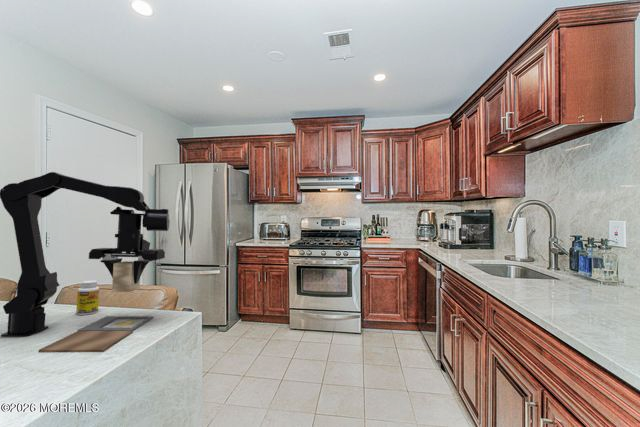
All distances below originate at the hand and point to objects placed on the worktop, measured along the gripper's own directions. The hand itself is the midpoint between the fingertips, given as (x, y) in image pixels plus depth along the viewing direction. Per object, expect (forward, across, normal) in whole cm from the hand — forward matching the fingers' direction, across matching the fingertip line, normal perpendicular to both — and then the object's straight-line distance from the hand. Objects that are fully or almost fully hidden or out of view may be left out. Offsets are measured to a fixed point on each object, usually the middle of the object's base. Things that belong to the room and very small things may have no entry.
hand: (126, 283), depth 86 cm
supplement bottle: (+12, +18, -11) cm, 24 cm away
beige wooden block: (+2, 0, 0) cm, 2 cm away
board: (+12, +1, +13) cm, 18 cm away
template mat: (+12, +2, 0) cm, 12 cm away
